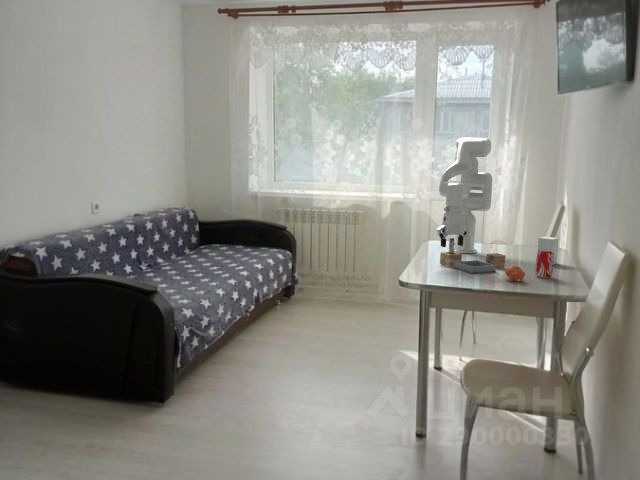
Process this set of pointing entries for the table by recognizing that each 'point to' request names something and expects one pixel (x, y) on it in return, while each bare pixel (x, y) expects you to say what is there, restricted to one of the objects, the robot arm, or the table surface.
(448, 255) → the oak block
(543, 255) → the soda can
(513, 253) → the table surface
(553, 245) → the supplement box
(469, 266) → the tray
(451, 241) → the cylinder
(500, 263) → the walnut block
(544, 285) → the table surface
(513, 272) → the pot
